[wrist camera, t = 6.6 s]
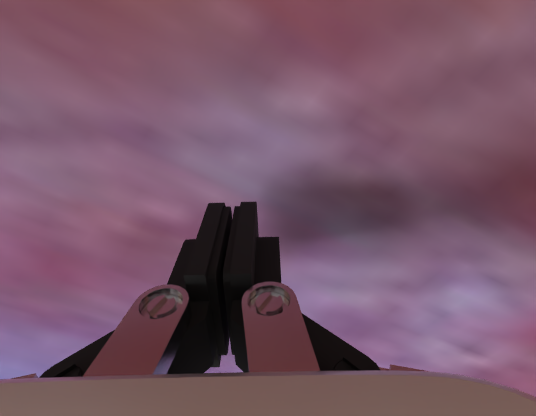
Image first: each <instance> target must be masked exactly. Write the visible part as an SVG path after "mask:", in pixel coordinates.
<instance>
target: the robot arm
mask: <svg viewBox="0 0 536 416" xmlns="http://www.w3.org/2000/svg"><path fill="white" fill-rule="evenodd" d="M229 338H230V342H231V350H232V355H235V361H236V365H237V366H238V367H239V368H240V369H241V370H242V371H243V372H240V373H204V372H205V371H207V370H208V369H209V368H210V367H220V360H221V355H227V353H228V346H229ZM0 416H536V397H534V396H532V395H530V394H527V393H524V392H522V391H519V390H517V389H514V388H511V387H507V386H504V385H500V384H497V383H494V382H491V381H487V380H483V379H478V378H473V377H468V376H463V375H458V374H450V373H440V372H430V371H424V370H418V369H413V368H407V367H401V366H396V365H390V368H389V369H386V368H380V367H378V366H377V364H376V363H375V362H374V361H372V360H371V359H370V358H369V357H368V356H366V355H365V354H363V353H362V352H360V351H358V350H357V349H355V348H354V347H352V346H351V345H349V344H348V343H346V342H345V341H343V340H342V339H340V338H339V337H337V336H336V335H334V334H333V333H331V332H329V331H328V330H326V329H325V328H323V327H322V326H320V325H319V324H317V323H316V322H314V321H313V320H311V319H310V318H308V317H307V316H305V315H304V314H302V313H301V310H300V307H299V304H298V301H297V298H296V295H295V293H294V292H293V290H292V289H290V288H289V287H288V286H286V285H284V284H282V283H281V269H280V251H279V237H259V235H258V218H257V203H256V202H241V204H240V206H235V208H234V214H233V219H232V213H231V207H225V203H209V204H208V206H207V209H206V212H205V215H204V218H203V220H202V223H201V226H200V229H199V232H198V235H197V238H196V239H190V240H185V241H184V243H183V246H182V248H181V251H180V253H179V256H178V258H177V261H176V263H175V266H174V268H173V271H172V273H171V276H170V278H169V281H168V283H167V285H161V286H157V287H154V288H152V289H149V290H147V291H146V292H144V293H143V294H141V295H140V296H139V297H138V298H137V300H136V301H135V302H134V304H133V305H132V306H131V308H130V309H129V311H128V312H127V314H126V315H125V316H124V318H123V319H122V321H121V322H120V324H119V325H118V326H117V328H116V329H115V330H114V331H112V332H110V333H109V334H107V335H105V336H103V337H102V338H100V339H98V340H97V341H95V342H93V343H91V344H90V345H88V346H86V347H85V348H83V349H81V350H79V351H78V352H76V353H74V354H73V355H71V356H69V357H67V358H66V359H64V360H62V361H61V362H59V363H57V364H55V365H54V366H52V367H51V368H50V369H48V370H47V371H45V372H44V373H43V374H42V375H41V376H40V377H39V378H38V377H37V375H36V373H35V374H30V375H26V376H21V377H17V378H12V379H0Z"/></svg>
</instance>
